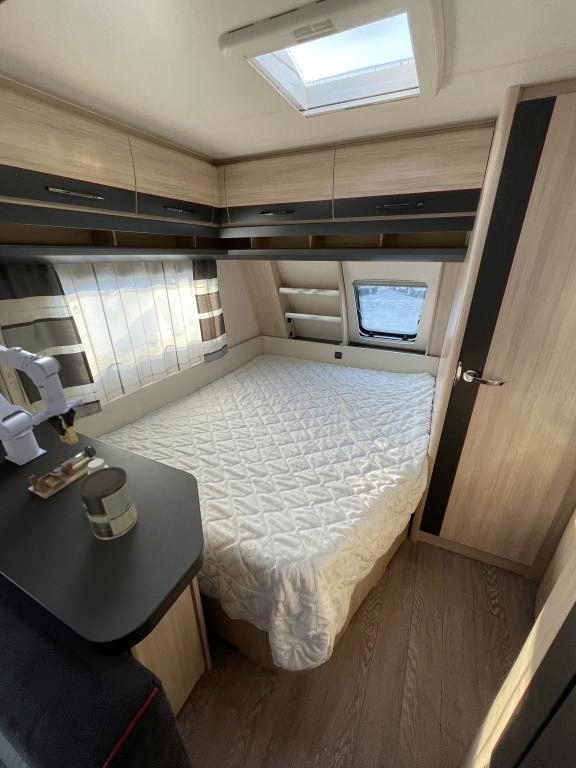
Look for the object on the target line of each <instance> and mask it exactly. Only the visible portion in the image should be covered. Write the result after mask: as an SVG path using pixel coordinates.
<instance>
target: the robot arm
mask: <svg viewBox="0 0 576 768" xmlns="http://www.w3.org/2000/svg"><path fill="white" fill-rule="evenodd" d="M0 360H2V363H3V364H4V365H5V366H8V367H11V368H13V369H16V370H19V371H22V372H24V373H25V374H26V376H27V377H29V378H30V379H31V380H32V382H33V384H34V385H35V387H37V389H38V392H39V395H40V397H41V400H42V403H43V405H44V408H45V410H43V411H42V412H40V413H38V414H36V415H35V416H33V414H32V413H31V412H29V411H27V410H26V409H24V407H23V406H21V405H15V404H10V402H9V401H8V400H7V399H6V398H5V397H4V395H3V394H2V393H1V392H0V440H1V443H2V445H3V448H4V450H5V452H6V453H7V455H6V456H5V459H6V460H8V461H11V462H12V463H15V464H17V465H19V466H22V465H25V464H27V463H28V462H31V461H32V460H34V459H36V458H38V457H40V456H42V455H43V454H45V453H47V450H44V449H42V448H40V447H39V445H38V442H37V440H36V439H37V438H36V437H35V435H34V432H33V429H34V427H33V425H34V426H38V425H40V424H41V423H42V422H44V421H45V422H47V423H48V424H50V425H51V426H52V427H53V428H54V429H55V430H56V432H57V433H59V434H58V435H61V436H65V435H66V434H65V431H64V428H63V424H62V423H65V424H68V425H71V426H73V427H74V421H75V417H76V414H77V411H76V410H75V408H76V407H78V406H83V405H84V401H83V399H82V398H80V397H79V398H75V399H72V400H68V399H67V397H66V394H65V391H64V389H63V386H62V383H61V380H60V378H59V374H58V373H59V371H61V365H60V363H59V361H58V360H57V359H56V358H55V357H53V356H51V355H49V354H46V355H38V354H35V353H31V352H29V351H26V350H24V349H23V348H22V347H19V346H17V347H13V346H12V347H11V348H7V347H6V346H3V345H2V344H0ZM73 408H74V409H73ZM58 415H60V417H59V416H58Z"/></svg>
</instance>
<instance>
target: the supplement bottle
mask: <svg viewBox="0 0 576 768" xmlns="http://www.w3.org/2000/svg"><path fill="white" fill-rule="evenodd" d="M108 467H109V465H108V464H105V460H104V459H103V458H100V459H95V460H93V461H91V462H90V463H89V464H88V469H89V471H88V472H87V476H88V475H89V474H91V473H93V472H95V471H97V470H100V469H103V468H108Z"/></svg>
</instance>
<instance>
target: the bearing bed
mask: <svg viewBox="0 0 576 768" xmlns="http://www.w3.org/2000/svg"><path fill="white" fill-rule="evenodd" d="M95 459H101V458H99V457H97V456H94V457H92V458H88V457H87V458H85V459H84V460H82V461H80V462H79V463H77V464H75V465H74V466H72V465H71V463H68V464H66V465H65V466H66V468H67V470H63V471H61V472H59V473H57V474H55V473H54V472H48V473H46V474H45V475H43V476H41V477H40V478H37V476H36V475H35V474H32V475H30V476H29V477H28V480H29V482H30V484H31V486H30V487H28V490H29V491H30V492H32V493H33V494H35V495H38V496H39V497H42V498H43V499H46V500H47V499H48V498H49V497H51V496H52V495H54V494H55V493H57V492H59V491H61V490H62V489H64V488H65V487H67V486H68V485H70V484H71V483H72V482H74V481H76V480H77V479H80V478H81V477H82V476H84V475H85V474H86V473H87V474H88V471H89V469H88V464H89V463H90V462H91V461H93V460H95ZM56 462H57V465H58V467H60V466H61V464H62V463H64V462H65V461H64V460H63V459H62V458H61V459H59V460H58V461H56Z"/></svg>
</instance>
